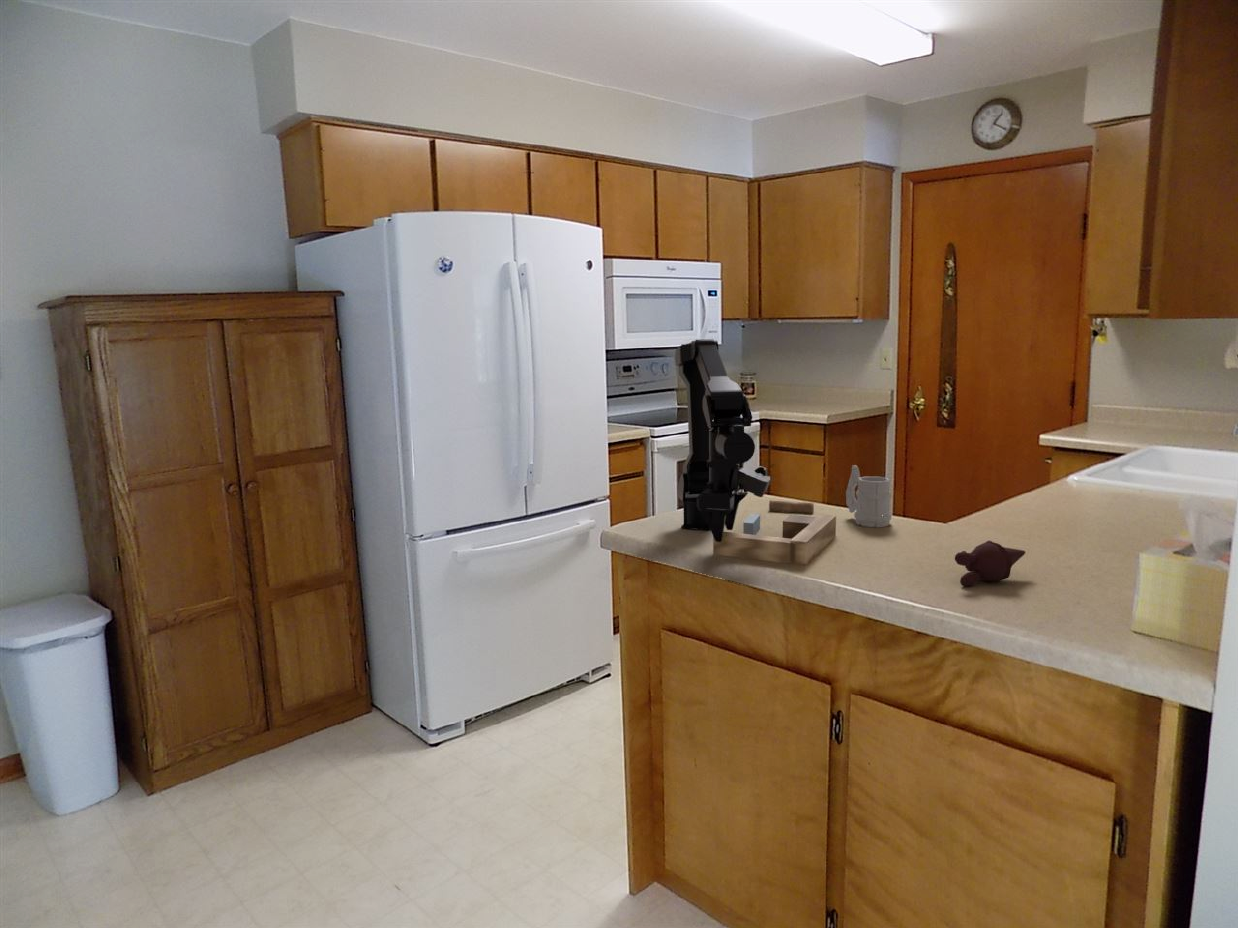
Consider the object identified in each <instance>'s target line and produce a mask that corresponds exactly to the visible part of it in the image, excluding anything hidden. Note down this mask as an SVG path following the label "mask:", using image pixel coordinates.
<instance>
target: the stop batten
mask: <svg viewBox="0 0 1238 928" xmlns="http://www.w3.org/2000/svg"><path fill="white" fill-rule="evenodd" d="M742 526H743V528H742V529H743V531H742V532H743V533H742V534H751V535H757V533H758V532H759V531H760V529H761V514H756V513H751V514H750V515H749V516H748V517H747V518H746V519H745V520H744V521H743V525H742Z"/></svg>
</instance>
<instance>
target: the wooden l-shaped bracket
mask: <svg viewBox="0 0 1238 928" xmlns="http://www.w3.org/2000/svg"><path fill="white" fill-rule="evenodd" d="M817 517H818V518H816V519H815V520H814V521H813V522H812V523H810V524H809V525H808V526H807V527H806V528H804V529H803V530H802V531H801V532H800V533H798V534H797V535H796V536H795V537H794V538H792V539H789V538H782V537H777V536H769V535H768V536H766V535H759V534H758V535H757V534H755V535H751V534H743V533H739V532H729V531H724V532H723V538H722V541H721V542H716V541H715V539H714V537H712V541H713V542H712V548H713V549H712V554H713V555H718V556H726V557H732V558H734V557H735V558H742V559H752V560H756V561H757V560H759V561H764V562H765V561H766V562H767V561H768V562H775V563H783V564H784V563H785V564H793V565H800V566H807V565H808V564H809V563H810V562H811V561H812V560H813V559H815V557H816V556H817V555H818V554H819V553H820V552H822V550H823V549H825V547H826V546H827V545H828V544H829V543H830V542H831V541H832V540H833V539H834V538H835V537H836V536H837V535H836V531H837V529H836V528H837V516H836V515H833V514H820V515H819V516H817Z"/></svg>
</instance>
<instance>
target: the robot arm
mask: <svg viewBox="0 0 1238 928" xmlns="http://www.w3.org/2000/svg"><path fill="white" fill-rule="evenodd" d="M674 361H675V366H676V367H677V368H678V369H677V370H678V372H677V373H678V376H679V377H680V379H681V380H682V382H683V383H684V385H685V387H686V401H687V404H686V405H687V406H686V407H687V425H688V426H687V427H688V447H689V449H688V450H689V451H688V453H689V454H688V455H687V457H686V459H685V461H684V462H683V465H682V473H680V477H679V481H678V485H677V496H678V498H679V500H681V502H683V506H682V507H683V524H681V526H680V527H681V529H691V530H702V531H703V530H706V531H710V532H711V534H712V536H713V537H714V539H715V541H716V542H721V541H722V538H723V532H725V528H726V530H727V531H732V530H733V529H734V525H735V522H736V517H737V513H738V509H739V505H740V503H741V501H742V500H743V499H745V497H746V496H747V495H748V494H749V493H750V494H752V495H754V496H755V497H759V498H762V497H764V495H765V494H766V492H767V490H768V487H769V485H770V483H771V476H768V469H767V467H764V466H761V465H759V466H758V467H757V468H755V470H754V469H752V468H750V469H749V468H746V467H745V466H744V464H746V463H747V462H749V461H750V460H751V459H752V457H753V456H754V454H755V450H756V444H755V441H754V439H753V437H752V436H751V435H750V434H748V433H746V432H745V428H746V427H752V420H753V414H752V411H751V408H750V404H749V400H748V399H747V396H746V394H744V392H743V390H742V388H741V386H740V385H739V383H737V382H736V381H734V380H731V379H730V378H729V375H728V374H727V371H726V368H725V365H724V363H723V360H722V357H721V355H720V352H719V343H718V340H716V339H713V338H710V339H709V338H706V339H703V338H702V339H695V340H692V341H691V342H688V343H685V344H684V343H683V344H681V345H679V346H678V347H677V348H676V349H675V355H674ZM742 490H743V492H742ZM713 537H712V538H713Z"/></svg>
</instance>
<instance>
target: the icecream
mask: <svg viewBox="0 0 1238 928" xmlns="http://www.w3.org/2000/svg"><path fill="white" fill-rule="evenodd" d="M1025 554H1026V551H1025V550H1023V549H1016V548H1012V547H1011V548H1010V547H1005V546H1002V545H1001V544H1000V543H996V542H993V541H992V540H987V541H985V542H982V543H981V544H979V545H977V546H975V547H974V548H973V550H971V552H967V551H966V550H962V551H960V552H957V553H956V554H955V556H954V561H955V563H956V564H957V565H960V566H964V567H965V569H966V571H968V572H965V573H964V574H963V575H962V576H960V577H961V578H960V580H959V582H960V584H961V586H962V587H972V586H974V585H975V584H976V583H978V582H979V581H982V582H997V581H998V582H1000V581H1003V580H1005V579H1008V578H1009V577H1010V576H1011V570H1012V568H1013V566H1014V565H1015V563H1017V562H1018V561H1019V560H1020V559H1021V558H1022V557H1024V555H1025Z"/></svg>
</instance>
